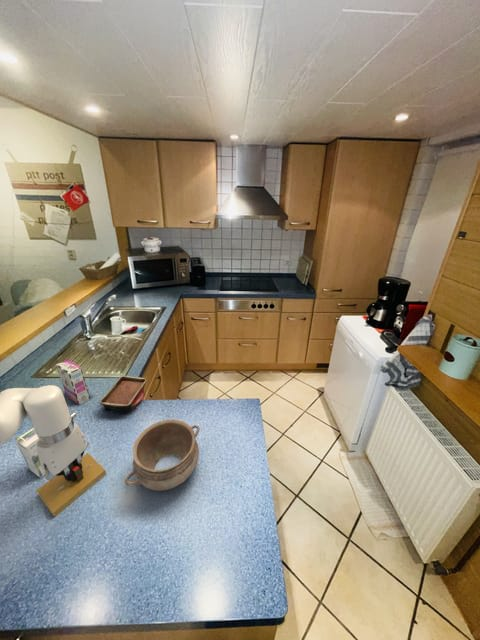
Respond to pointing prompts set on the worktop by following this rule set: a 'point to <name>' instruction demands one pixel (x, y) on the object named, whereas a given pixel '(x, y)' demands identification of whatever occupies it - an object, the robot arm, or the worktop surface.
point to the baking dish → (124, 394)
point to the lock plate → (70, 486)
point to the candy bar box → (73, 381)
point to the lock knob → (76, 472)
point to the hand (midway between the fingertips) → (75, 475)
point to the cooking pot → (164, 454)
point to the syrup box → (30, 451)
